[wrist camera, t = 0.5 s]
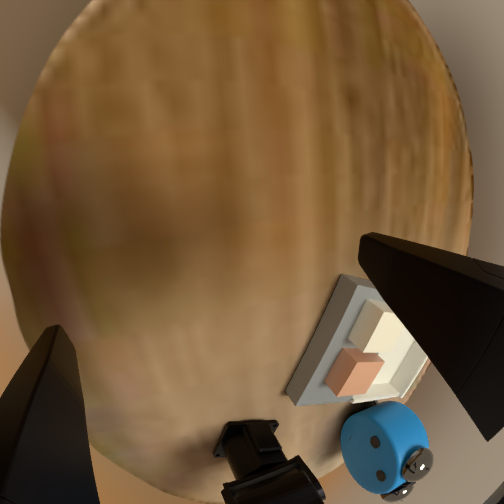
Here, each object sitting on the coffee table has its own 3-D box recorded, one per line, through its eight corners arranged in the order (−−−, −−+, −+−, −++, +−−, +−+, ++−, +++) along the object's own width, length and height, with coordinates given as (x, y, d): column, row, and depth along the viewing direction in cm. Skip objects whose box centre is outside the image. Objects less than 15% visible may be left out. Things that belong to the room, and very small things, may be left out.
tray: (387, 383, 39) (402, 397, 36) (338, 388, 35) (354, 406, 32) (435, 296, 36) (454, 308, 33) (392, 286, 32) (414, 300, 29)
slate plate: (338, 388, 35) (349, 401, 33) (285, 390, 31) (295, 406, 29) (392, 286, 32) (408, 296, 30) (341, 273, 28) (357, 284, 26)
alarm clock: (360, 436, 43) (411, 497, 30) (329, 449, 41) (379, 517, 28) (385, 381, 39) (453, 448, 26) (351, 395, 37) (420, 473, 23)
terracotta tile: (352, 379, 31) (365, 393, 29) (323, 381, 29) (336, 396, 27) (370, 348, 30) (385, 361, 28) (342, 347, 28) (357, 362, 26)
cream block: (375, 339, 30) (390, 352, 28) (347, 338, 28) (362, 352, 26) (393, 303, 29) (409, 315, 27) (366, 298, 27) (384, 311, 25)
